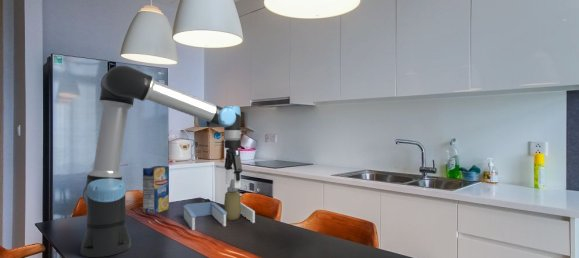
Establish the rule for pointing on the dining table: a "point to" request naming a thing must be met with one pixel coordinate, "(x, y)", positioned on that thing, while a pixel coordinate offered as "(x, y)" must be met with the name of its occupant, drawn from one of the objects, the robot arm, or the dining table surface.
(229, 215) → the squeeze bottle
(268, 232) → the dining table surface
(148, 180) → the blue food box
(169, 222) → the dining table surface
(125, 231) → the robot arm
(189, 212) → the divider rack
